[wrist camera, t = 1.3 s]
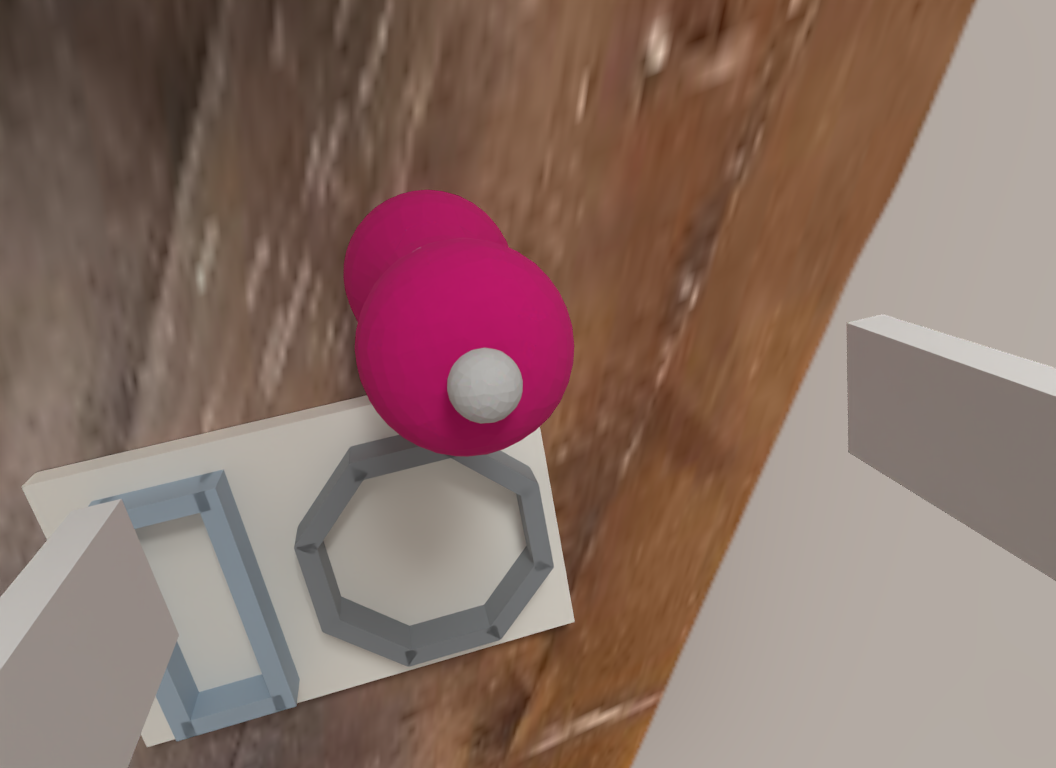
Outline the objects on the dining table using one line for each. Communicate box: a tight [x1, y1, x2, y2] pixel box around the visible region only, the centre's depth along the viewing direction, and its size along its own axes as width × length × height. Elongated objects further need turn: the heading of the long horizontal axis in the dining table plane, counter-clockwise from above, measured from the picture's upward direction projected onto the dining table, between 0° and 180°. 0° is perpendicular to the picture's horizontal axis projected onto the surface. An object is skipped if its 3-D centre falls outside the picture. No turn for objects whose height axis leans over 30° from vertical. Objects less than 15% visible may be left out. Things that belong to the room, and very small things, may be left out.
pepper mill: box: [344, 190, 574, 457], centre depth 25 cm, size 7×7×20 cm
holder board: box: [22, 395, 575, 747], centre depth 36 cm, size 16×24×4 cm, turn 100°
